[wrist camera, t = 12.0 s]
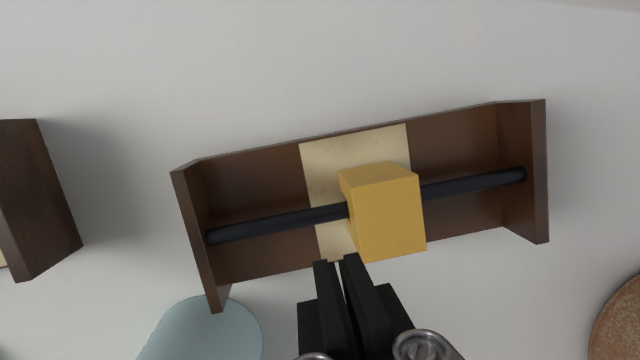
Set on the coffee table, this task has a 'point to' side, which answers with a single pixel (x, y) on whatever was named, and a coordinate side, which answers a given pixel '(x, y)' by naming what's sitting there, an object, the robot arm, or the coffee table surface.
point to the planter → (618, 326)
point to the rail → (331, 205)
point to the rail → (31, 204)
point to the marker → (383, 210)
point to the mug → (205, 333)
